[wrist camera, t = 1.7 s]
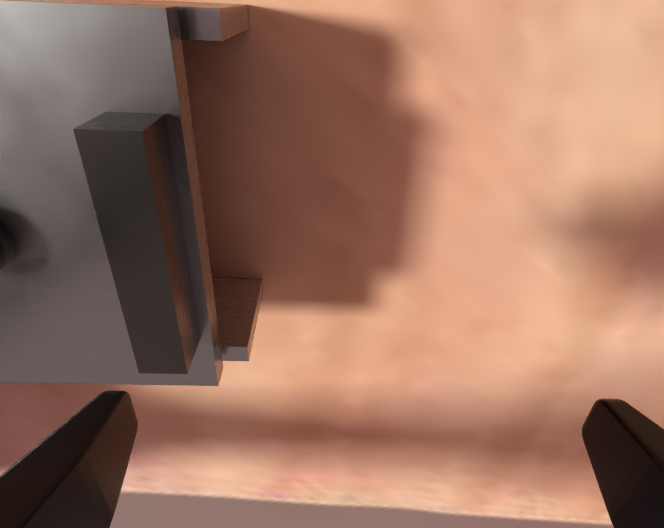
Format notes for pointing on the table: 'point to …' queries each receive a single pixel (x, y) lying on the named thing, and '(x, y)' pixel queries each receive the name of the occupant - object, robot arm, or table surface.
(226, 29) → the grey rectangular box
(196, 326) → the lid
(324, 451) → the table surface
